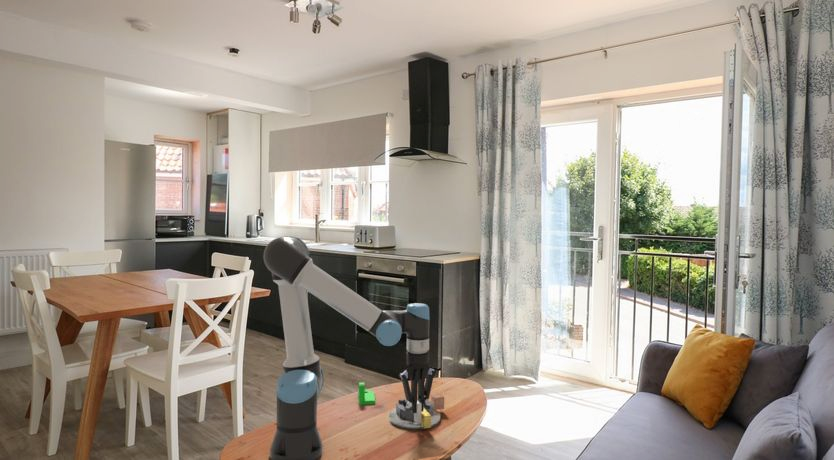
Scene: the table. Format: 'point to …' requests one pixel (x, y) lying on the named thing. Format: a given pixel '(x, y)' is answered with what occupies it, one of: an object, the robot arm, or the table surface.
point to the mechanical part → (365, 395)
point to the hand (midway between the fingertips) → (417, 421)
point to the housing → (412, 425)
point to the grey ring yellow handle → (407, 413)
